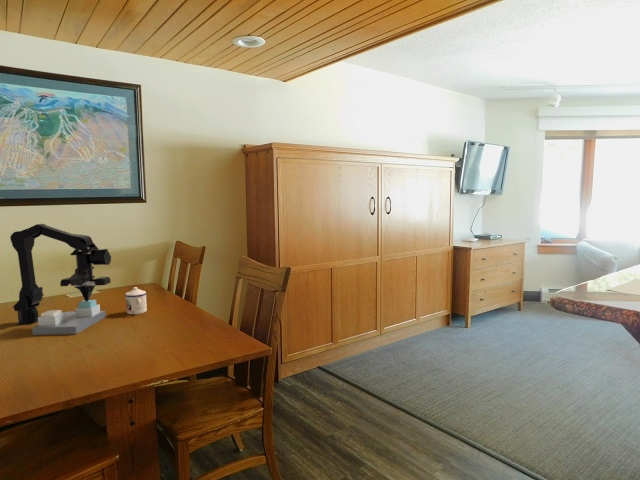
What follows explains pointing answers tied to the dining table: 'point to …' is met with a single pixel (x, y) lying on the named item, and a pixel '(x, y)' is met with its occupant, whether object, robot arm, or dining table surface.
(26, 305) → the robot arm
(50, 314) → the cream key
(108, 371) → the dining table surface
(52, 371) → the dining table surface
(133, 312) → the teacup with lid
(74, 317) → the grey rectangular board
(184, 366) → the dining table surface
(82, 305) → the teal key
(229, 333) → the dining table surface
